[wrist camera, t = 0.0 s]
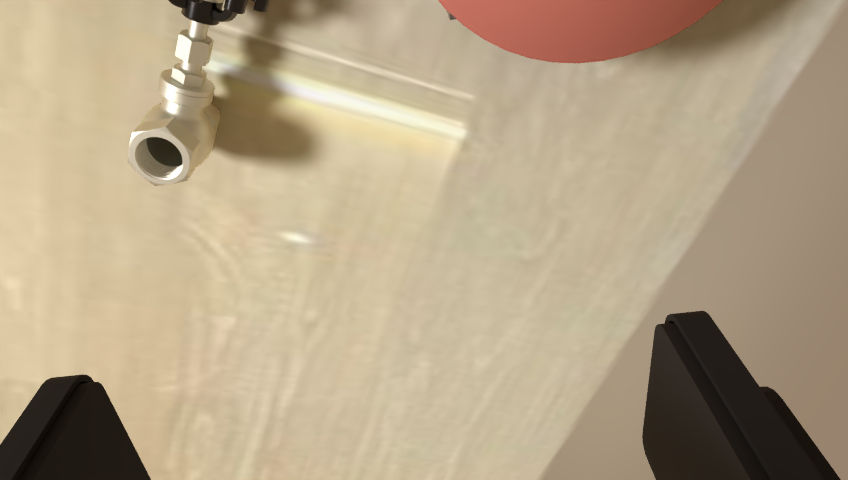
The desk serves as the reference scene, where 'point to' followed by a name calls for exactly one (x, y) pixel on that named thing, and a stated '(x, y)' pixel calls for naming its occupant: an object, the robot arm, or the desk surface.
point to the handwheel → (577, 25)
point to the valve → (184, 100)
